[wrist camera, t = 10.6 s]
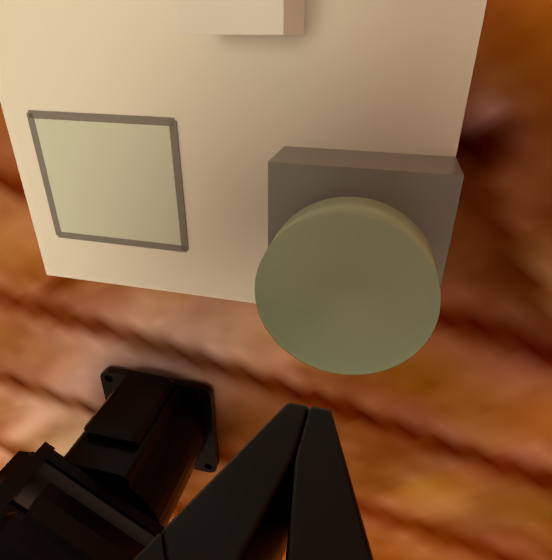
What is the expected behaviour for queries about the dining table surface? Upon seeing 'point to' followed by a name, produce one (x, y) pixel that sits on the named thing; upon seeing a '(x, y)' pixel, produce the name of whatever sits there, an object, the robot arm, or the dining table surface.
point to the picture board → (209, 123)
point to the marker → (241, 17)
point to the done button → (349, 286)
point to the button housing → (369, 187)
